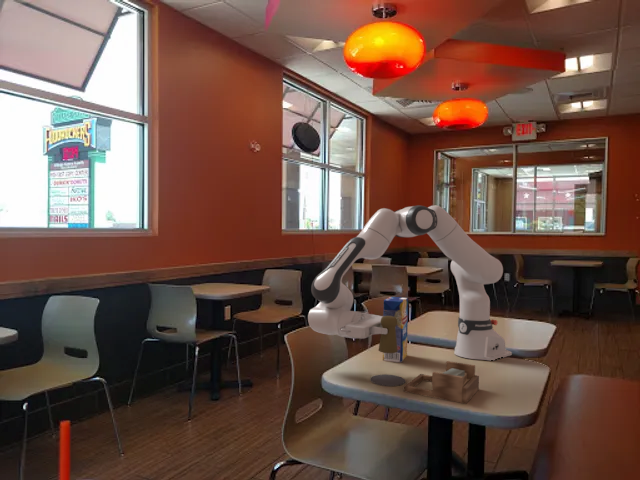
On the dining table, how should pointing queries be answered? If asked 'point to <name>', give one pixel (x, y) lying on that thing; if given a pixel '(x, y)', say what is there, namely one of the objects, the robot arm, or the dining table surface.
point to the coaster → (387, 380)
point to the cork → (388, 335)
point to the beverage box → (398, 326)
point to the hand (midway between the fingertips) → (391, 329)
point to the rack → (448, 383)
